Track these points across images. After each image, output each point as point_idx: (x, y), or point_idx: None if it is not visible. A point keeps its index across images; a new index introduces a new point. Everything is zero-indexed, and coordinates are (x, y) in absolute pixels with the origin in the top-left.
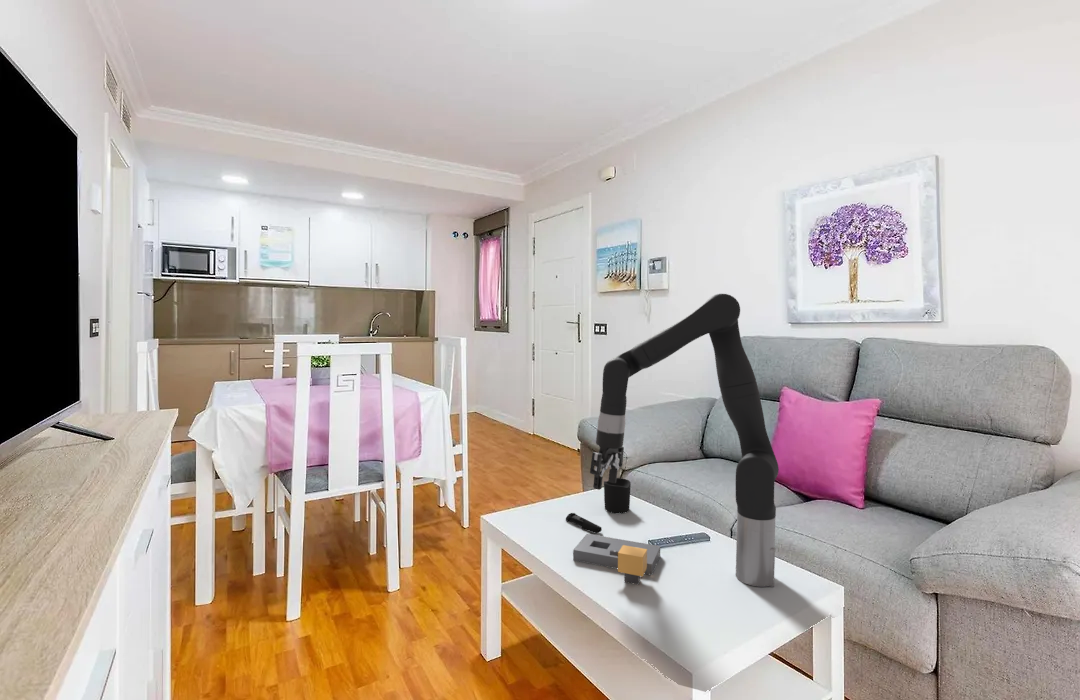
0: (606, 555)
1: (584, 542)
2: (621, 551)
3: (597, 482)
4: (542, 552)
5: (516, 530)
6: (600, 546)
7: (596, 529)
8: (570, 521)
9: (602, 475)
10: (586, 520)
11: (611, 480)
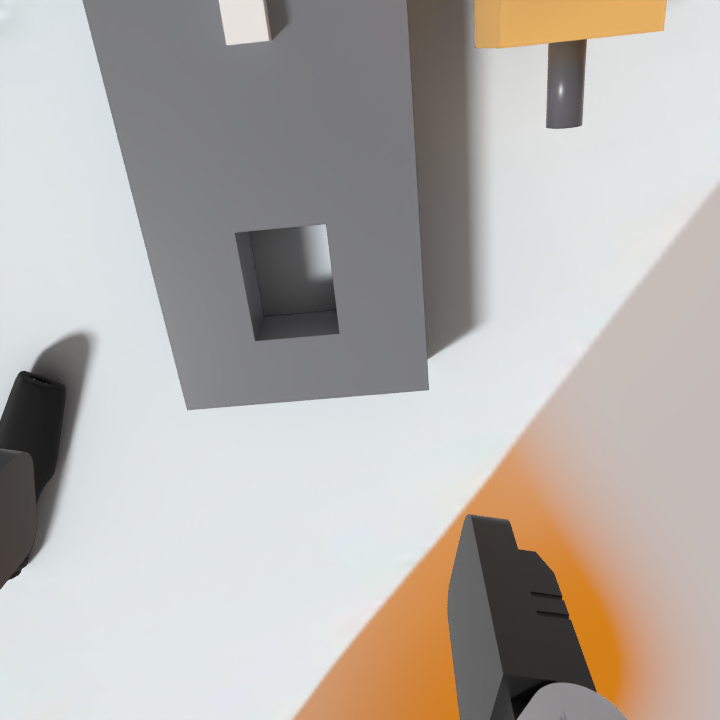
0: (413, 192)
1: (307, 375)
2: (631, 11)
3: (564, 632)
4: (415, 509)
5: (268, 676)
6: (251, 289)
7: (53, 394)
8: None
9: (540, 698)
10: None
11: (17, 520)
